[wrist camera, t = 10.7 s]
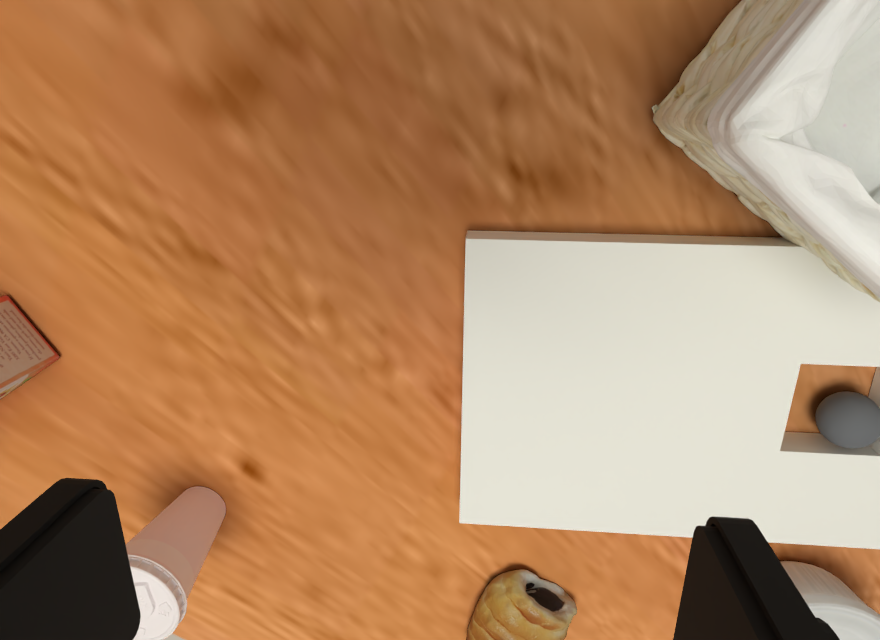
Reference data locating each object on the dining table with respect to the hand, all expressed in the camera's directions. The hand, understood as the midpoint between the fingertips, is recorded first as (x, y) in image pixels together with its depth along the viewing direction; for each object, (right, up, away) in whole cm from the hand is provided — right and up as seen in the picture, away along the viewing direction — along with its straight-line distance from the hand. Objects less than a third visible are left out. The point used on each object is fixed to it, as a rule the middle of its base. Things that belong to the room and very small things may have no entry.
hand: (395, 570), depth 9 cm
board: (+18, 0, +29) cm, 34 cm away
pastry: (+7, -19, +37) cm, 42 cm away
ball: (+26, -2, +27) cm, 37 cm away
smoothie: (-18, -10, +36) cm, 41 cm away
